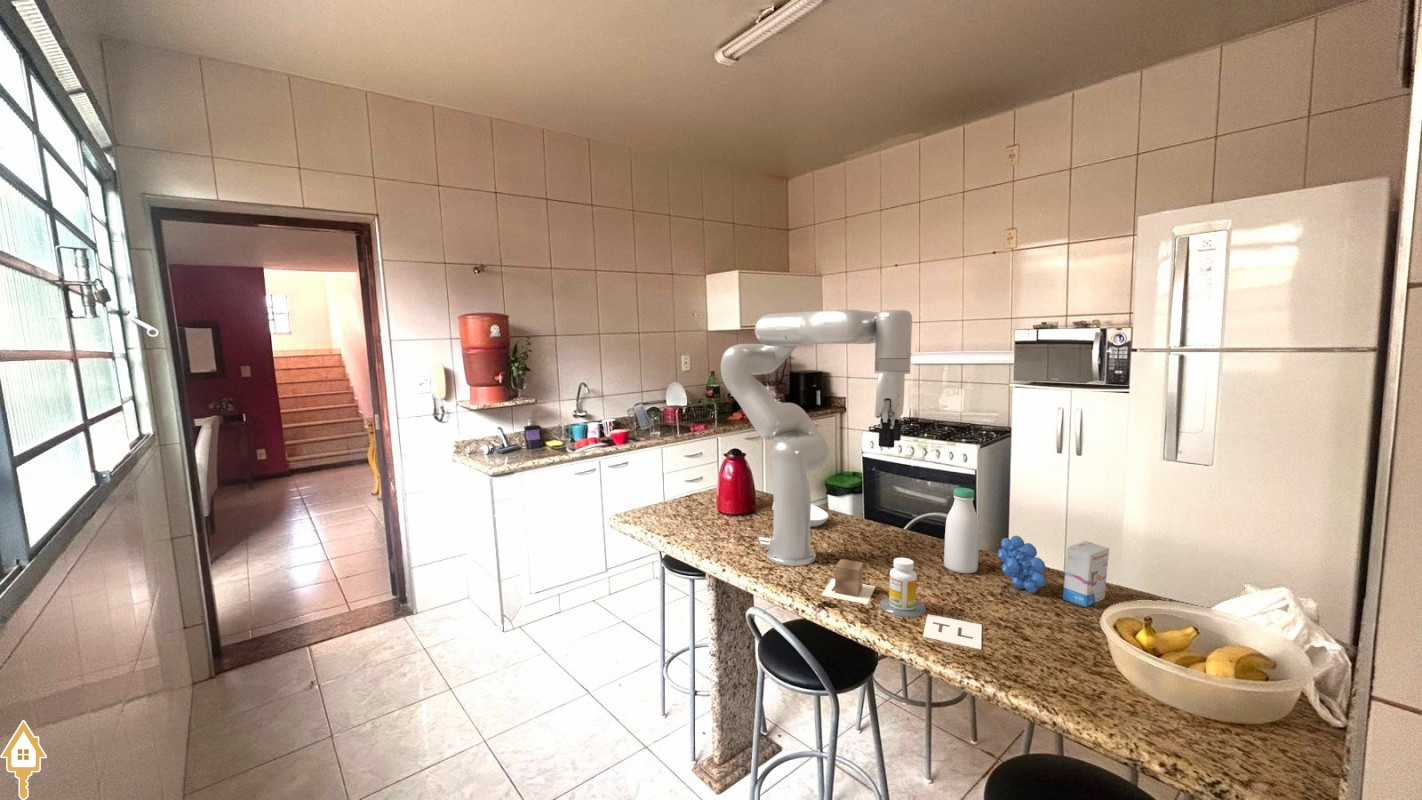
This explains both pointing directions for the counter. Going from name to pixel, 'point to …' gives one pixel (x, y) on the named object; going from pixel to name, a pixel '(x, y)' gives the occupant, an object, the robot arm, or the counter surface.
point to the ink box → (1085, 573)
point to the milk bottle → (962, 534)
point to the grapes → (1022, 564)
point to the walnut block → (848, 577)
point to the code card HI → (862, 597)
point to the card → (953, 631)
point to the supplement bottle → (903, 585)
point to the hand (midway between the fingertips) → (889, 443)
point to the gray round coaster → (916, 612)
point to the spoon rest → (815, 515)
